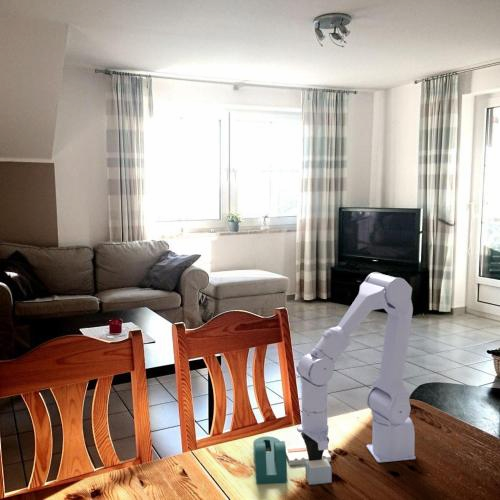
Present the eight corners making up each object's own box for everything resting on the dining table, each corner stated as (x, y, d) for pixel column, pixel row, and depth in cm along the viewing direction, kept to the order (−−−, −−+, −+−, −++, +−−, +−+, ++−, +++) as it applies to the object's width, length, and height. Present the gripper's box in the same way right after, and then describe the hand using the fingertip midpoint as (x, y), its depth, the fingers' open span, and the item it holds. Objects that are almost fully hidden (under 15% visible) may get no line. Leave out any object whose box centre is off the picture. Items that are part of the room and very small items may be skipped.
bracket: (287, 483, 120) (286, 450, 119) (256, 485, 120) (255, 451, 119) (279, 444, 138) (278, 414, 137) (252, 445, 138) (252, 415, 137)
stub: (327, 473, 123) (326, 458, 123) (331, 482, 120) (331, 466, 119) (305, 476, 122) (305, 460, 122) (309, 484, 119) (309, 468, 118)
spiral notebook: (323, 448, 135) (323, 443, 134) (330, 461, 129) (330, 455, 129) (284, 452, 133) (284, 447, 133) (289, 465, 127) (289, 459, 127)
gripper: (290, 396, 128) (290, 450, 130) (305, 423, 114) (305, 483, 116) (319, 394, 129) (319, 447, 131) (337, 420, 115) (337, 480, 117)
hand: (314, 464), depth 124 cm, fingers closed
